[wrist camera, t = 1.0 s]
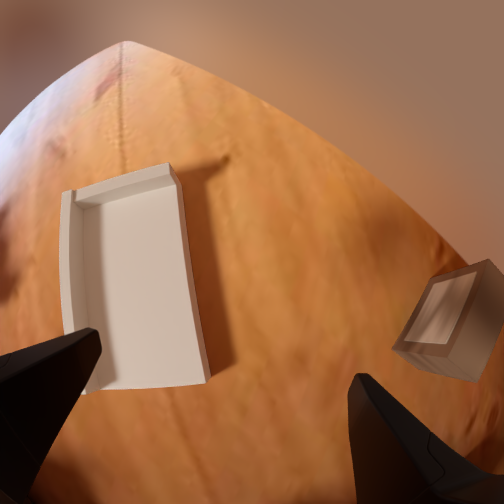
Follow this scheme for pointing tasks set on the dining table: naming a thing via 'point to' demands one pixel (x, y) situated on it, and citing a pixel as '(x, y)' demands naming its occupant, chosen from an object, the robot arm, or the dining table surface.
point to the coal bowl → (3, 503)
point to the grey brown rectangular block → (456, 322)
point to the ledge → (132, 280)
